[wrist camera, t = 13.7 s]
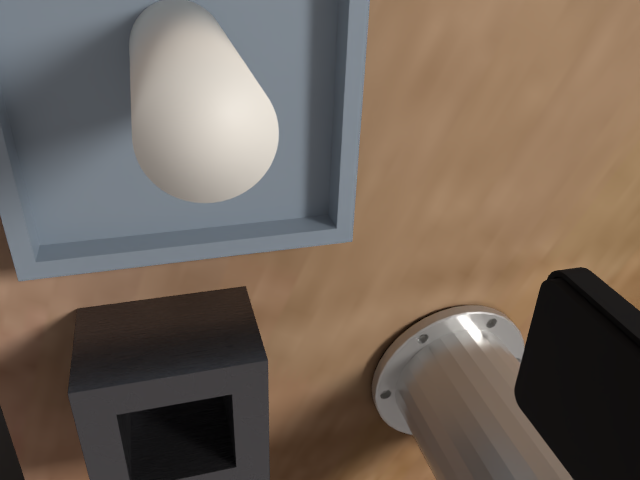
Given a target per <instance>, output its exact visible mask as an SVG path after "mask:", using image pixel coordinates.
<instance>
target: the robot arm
mask: <svg viewBox="0 0 640 480" xmlns="http://www.w3.org/2000/svg"><path fill="white" fill-rule="evenodd" d="M372 397H373V400H374V403H375V406H376V408H377V410H378V412H379V414H380V416H381V418H382V419H383V420H384V421H385V422H386V423H387V424H388V425H389V426H390V427H392V428H394V429H395V430H397V431H400V432H403V433H406V434H411V435H413V436H414V438H415V440H416V442H417V444H418V446H419V448H420V450H421V452H422V453H423V455H424V457H425V459H426V461H427V463H428V465H429V467H430V469H431V471H432V473H433V474H434V476H435V478H436V480H640V311H639V310H638V309H636V308H635V307H634V306H633V305H632V304H630V303H629V302H628V301H627V300H625V299H624V298H623V297H622V296H621V295H619V294H618V293H617V292H616V291H614V290H613V289H612V288H611V287H610V286H608V285H607V284H606V283H605V282H603V281H602V280H601V279H600V278H599V277H597V276H596V275H595V274H594V273H592V272H591V271H590V270H588V269H586V268H582V267H580V268H572V269H565V270H557V271H554V272H552V273H551V274H550V275H549V276H548V278H547V280H545V281H544V282H543V283H542V285H541V287H540V291H539V294H538V298H537V302H536V306H535V310H534V314H533V318H532V321H531V325H530V329H529V333H528V337H527V341H526V345H525V348H524V340H523V338H522V335H521V332H520V331H519V329H518V328H517V327H516V326H515V324H514V323H513V322H512V321H511V320H510V319H509V318H508V317H507V316H506V315H505V314H503V313H502V312H500V311H498V310H496V309H494V308H490V307H486V306H478V305H466V306H459V307H453V308H449V309H446V310H443V311H439V312H437V313H435V314H433V315H430V316H428V317H426V318H424V319H422V320H421V321H419V322H417V323H416V324H414V325H413V326H411V327H410V328H409V329H407V330H406V331H405V332H404V333H403V334H401V335H400V336H399V337H398V338H397V339H396V340H395V341H394V342H393V343H392V345H391V346H390V347H389V348H388V349H387V350H386V352H385V353H384V355H383V357H382V358H381V360H380V361H379V363H378V366H377V368H376V370H375V373H374V377H373V382H372ZM0 480H25V479H24V476H23V473H22V470H21V467H20V464H19V461H18V458H17V455H16V452H15V449H14V446H13V443H12V440H11V437H10V434H9V431H8V428H7V425H6V422H5V419H4V416H3V413H2V410H1V407H0Z"/></svg>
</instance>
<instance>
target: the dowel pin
mask: <svg viewBox="0 0 640 480" xmlns="http://www.w3.org/2000/svg"><path fill="white" fill-rule="evenodd" d="M129 56H130V90H131V125H132V144H133V149H134V153H135V156H136V158H137V161H138V163H139V165H140V167H141V169H142V170H143V172H144V173H145V174H146V176H147V177H148V178H149V179H150V180H151V181H152V182H153V183H154V184H155V185H156V186H157V187H158V188H160V189H161V190H163V191H164V192H166V193H167V194H169V195H171V196H174V197H176V198H178V199H182V200H185V201H189V202H194V203H215V202H221V201H225V200H228V199H231V198H234V197H236V196H239V195H240V194H242V193H244V192H246V191H247V190H249V189H250V188H252V187H253V186H254V185H255V184H256V183H257V182H258V181H260V179H261V178H262V177H263V176H264V175H265V174H266V172H267V170H268V169H269V167H270V166H271V164H272V162H273V160H274V157H275V154H276V151H277V147H278V141H279V127H278V121H277V116H276V113H275V110H274V107H273V105H272V104H271V102H270V100H269V98H268V97H267V95H266V94H265V92H264V91H263V89H262V88H261V86H260V85H259V83H258V82H257V80H256V79H255V77H254V76H253V74H252V73H251V71H250V70H249V68H248V67H247V65H246V64H245V62H244V61H243V59H242V58H241V56H240V55H239V54H238V52H237V51H236V49H235V48H234V46H233V45H232V43H231V42H230V40H229V39H228V37H227V36H226V34H225V33H224V31H223V30H222V28H221V27H220V25H219V24H218V22H217V21H216V20H215V18H214V17H213V16H212V15H211V14H210V13H209V12H208V11H207V10H206V9H205V8H203V7H201V6H200V5H198V4H196V3H194V2H191V1H188V0H161V1H158V2H156V3H154V4H152V5H150V6H149V7H147V8H146V9H145V10H144V11H143V12H142V13H141V14H140V15H139V16H138V18H137V19H136V21H135V22H134V24H133V27H132V30H131V33H130V39H129Z"/></svg>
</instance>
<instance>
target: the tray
mask: <svg viewBox="0 0 640 480" xmlns="http://www.w3.org/2000/svg"><path fill="white" fill-rule="evenodd" d="M158 1H161V0H0V216H1V220H2V223H3V227H4V230H5V234H6V238H7V241H8V245H9V248H10V252H11V256H12V259H13V263H14V266H15V270H16V274H17V277H18V281H25V280H34V279H42V278H50V277H59V276H67V275H76V274H84V273H92V272H101V271H109V270H117V269H126V268H134V267H143V266H151V265H159V264H168V263H176V262H185V261H193V260H201V259H210V258H218V257H227V256H235V255H243V254H252V253H260V252H269V251H277V250H285V249H294V248H302V247H311V246H319V245H327V244H336V243H344V242H352V238H353V224H354V210H355V197H356V183H357V169H358V155H359V141H360V128H361V114H362V100H363V86H364V73H365V59H366V45H367V31H368V18H369V4H370V0H188V1H191V2H194V3H196V4H198V5H200V6H201V7H203V8H205V9H206V10H207V11H208V12H209V13H210V14H211V15H212V16H213V17H214V18H215V20H216V21H217V22H218V24H219V25H220V27H221V28H222V30H223V31H224V33H225V34H226V36H227V37H228V39H229V40H230V42H231V43H232V45H233V46H234V48H235V49H236V51H237V52H238V54H239V55H240V56H241V58H242V59H243V61H244V62H245V64H246V65H247V67H248V68H249V70H250V71H251V73H252V74H253V76H254V77H255V79H256V80H257V82H258V83H259V85H260V86H261V88H262V89H263V91H264V92H265V94H266V95H267V97H268V98H269V100H270V102H271V104H272V105H273V107H274V110H275V113H276V116H277V121H278V127H279V141H278V147H277V151H276V154H275V157H274V160H273V162H272V164H271V166H270V167H269V169H268V170H267V172H266V174H265V175H264V176H263V177H262V178H261V179H260V181H258V182H257V183H256V184H255V185H254V186H253V187H252V188H250V189H249V190H247V191H246V192H244V193H242V194H240V195H239V196H236V197H234V198H231V199H228V200H225V201H221V202H215V203H194V202H189V201H185V200H182V199H178V198H176V197H174V196H171V195H169V194H167V193H166V192H164V191H163V190H161V189H160V188H158V187H157V186H156V185H155V184H154V183H153V182H152V181H151V180H150V179H149V178H148V177H147V176H146V174H145V173H144V172H143V170H142V169H141V167H140V165H139V163H138V161H137V158H136V156H135V153H134V149H133V144H132V125H131V90H130V56H129V39H130V33H131V30H132V27H133V24H134V22H135V21H136V19H137V18H138V16H139V15H140V14H141V13H142V12H143V11H144V10H145V9H146V8H147V7H149V6H150V5H152V4H154V3H156V2H158Z"/></svg>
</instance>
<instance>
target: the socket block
mask: <svg viewBox="0 0 640 480" xmlns="http://www.w3.org/2000/svg"><path fill="white" fill-rule="evenodd" d="M68 397H69V401H70V405H71V408H72V412H73V416H74V420H75V424H76V428H77V432H78V436H79V440H80V444H81V447H82V451H83V455H84V459H85V463H86V467H87V471H88V475H89V479H90V480H270V466H269V400H268V359H267V356H266V352H265V349H264V346H263V342H262V339H261V336H260V333H259V329H258V326H257V323H256V319H255V316H254V313H253V309H252V306H251V303H250V299H249V296H248V293H247V289H246V286H245V287H238V288H230V289H223V290H215V291H208V292H200V293H193V294H185V295H178V296H170V297H163V298H155V299H148V300H140V301H133V302H125V303H118V304H110V305H103V306H95V307H88V308H80V309H77V315H76V324H75V333H74V342H73V351H72V360H71V369H70V378H69V387H68Z"/></svg>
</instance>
